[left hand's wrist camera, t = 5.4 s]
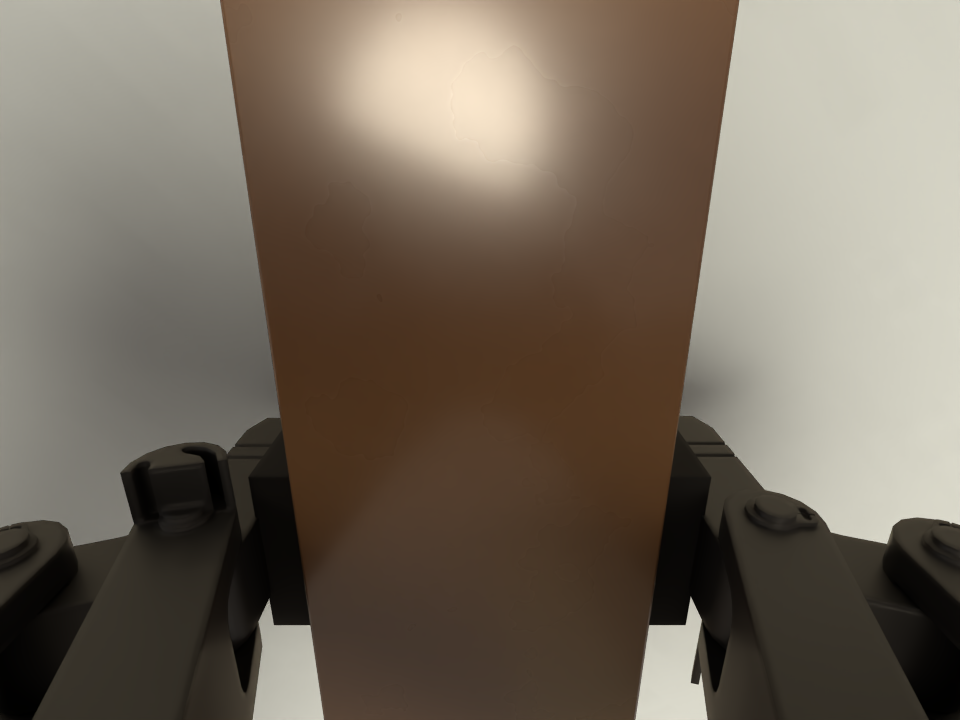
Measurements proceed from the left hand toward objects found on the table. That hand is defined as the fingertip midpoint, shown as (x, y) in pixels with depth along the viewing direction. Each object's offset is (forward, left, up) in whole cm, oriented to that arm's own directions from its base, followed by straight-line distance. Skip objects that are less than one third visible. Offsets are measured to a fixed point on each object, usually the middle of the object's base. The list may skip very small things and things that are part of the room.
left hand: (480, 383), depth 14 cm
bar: (-2, +18, -1) cm, 18 cm away
